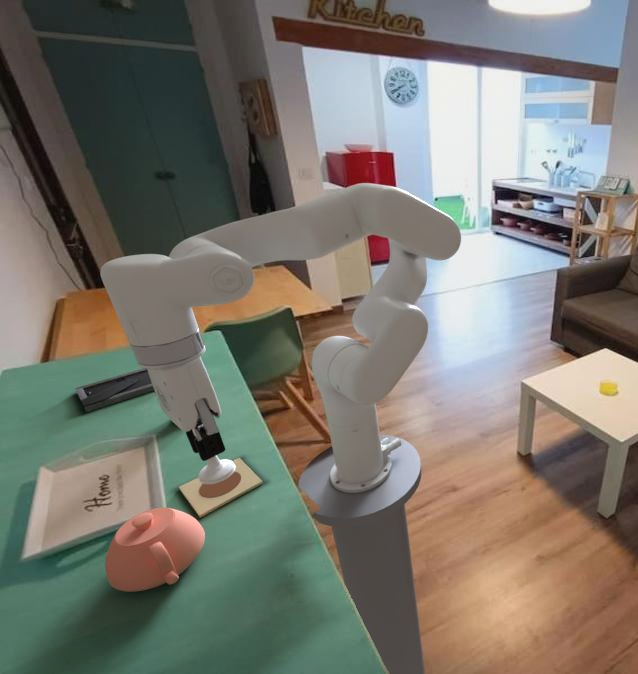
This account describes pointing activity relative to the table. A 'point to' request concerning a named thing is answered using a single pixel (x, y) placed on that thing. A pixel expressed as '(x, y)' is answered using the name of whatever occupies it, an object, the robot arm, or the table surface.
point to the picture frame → (115, 389)
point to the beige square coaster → (220, 489)
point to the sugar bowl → (153, 549)
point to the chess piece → (216, 470)
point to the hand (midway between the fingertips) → (209, 450)
